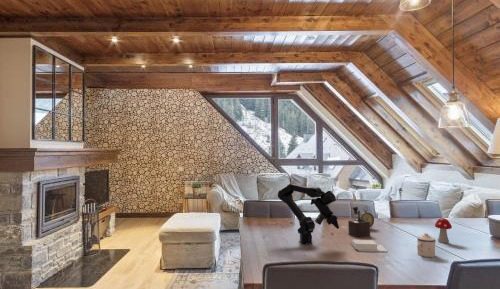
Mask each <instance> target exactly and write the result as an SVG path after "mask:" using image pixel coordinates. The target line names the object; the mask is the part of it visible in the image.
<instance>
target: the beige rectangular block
mask: <svg viewBox="0 0 500 289" xmlns="http://www.w3.org/2000/svg"><path fill="white" fill-rule="evenodd" d="M351 242H352V243H351V244H352V246H353V248H354V249H355V250H357V249H369V250H377V245H378V244H377V242H376V241H374V239H352V240H351Z"/></svg>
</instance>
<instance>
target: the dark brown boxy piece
mask: <svg viewBox="0 0 500 289" xmlns="http://www.w3.org/2000/svg"><path fill="white" fill-rule="evenodd" d="M352 211H353V213H352V215H355V216H356V215H357V216H358V217H357V218H355V219H351V220H348V221H347V222H348V227H347V228H348V235H350V236H353V237H354V238H355V237H356V238H366V237H371V227H370V222H368V221H366V220H364V219H363V218H360V214H361V211H360V210H359V207H358V206H353V207H352Z"/></svg>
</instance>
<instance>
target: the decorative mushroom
mask: <svg viewBox="0 0 500 289" xmlns="http://www.w3.org/2000/svg"><path fill="white" fill-rule="evenodd" d="M435 227H436V228H438V229H439V233H438V238H437V241H438V243H440V244H446V245H447V244H449V242H450V240H449V237H448V233H447V232H448V231H447V230H450V229H453V226H452V224H451V222H450V221H449V220H448V219H446V218H444V217H443V218H438V219H437V220H436V222H435V224H434V228H435Z"/></svg>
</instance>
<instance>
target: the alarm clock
mask: <svg viewBox="0 0 500 289" xmlns="http://www.w3.org/2000/svg"><path fill="white" fill-rule="evenodd" d="M365 208H366V210H365ZM363 211H364V212H360V218H363V219H364V220H366V221H368V222H370V229H373V227H372V226H373V225H374V222H375V217H374V215H373V214H372V213H371V212H367V211H368V207H366V206H364V207H363Z"/></svg>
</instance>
